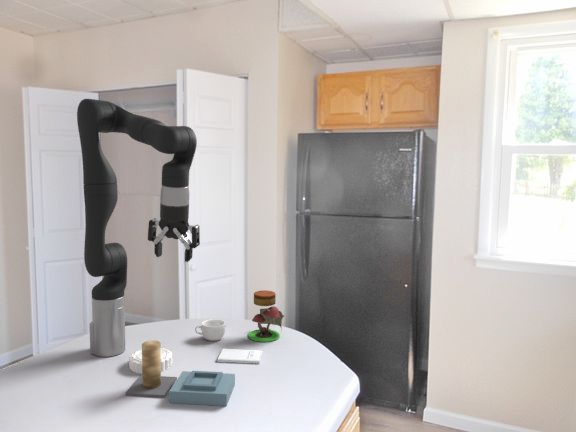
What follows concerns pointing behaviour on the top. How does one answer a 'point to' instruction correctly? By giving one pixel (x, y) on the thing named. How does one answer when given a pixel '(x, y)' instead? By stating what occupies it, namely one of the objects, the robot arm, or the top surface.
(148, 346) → the oak stopper
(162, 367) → the mooncake
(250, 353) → the external hard drive
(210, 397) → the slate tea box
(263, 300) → the mushroom figurine
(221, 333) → the teacup
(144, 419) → the top surface
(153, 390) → the grey rubber coaster
